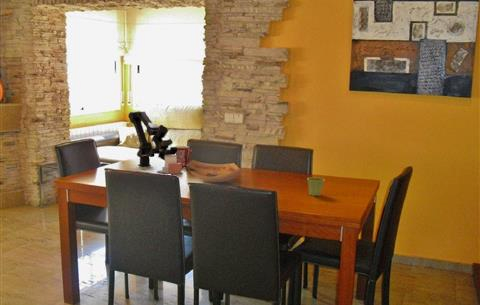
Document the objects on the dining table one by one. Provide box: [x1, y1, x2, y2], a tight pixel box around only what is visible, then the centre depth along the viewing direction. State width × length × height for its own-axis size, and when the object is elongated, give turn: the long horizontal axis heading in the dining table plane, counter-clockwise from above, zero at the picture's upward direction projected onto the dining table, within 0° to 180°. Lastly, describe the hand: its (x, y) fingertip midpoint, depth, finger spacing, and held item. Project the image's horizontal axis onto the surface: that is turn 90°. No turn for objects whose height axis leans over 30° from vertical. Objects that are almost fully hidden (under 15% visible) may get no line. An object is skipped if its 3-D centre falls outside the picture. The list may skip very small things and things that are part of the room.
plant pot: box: [306, 176, 326, 197], centre depth 263 cm, size 9×9×9 cm
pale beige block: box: [164, 154, 177, 168], centre depth 306 cm, size 4×6×10 cm
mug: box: [175, 145, 194, 168], centre depth 330 cm, size 13×9×14 cm
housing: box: [156, 163, 184, 176], centre depth 307 cm, size 14×10×7 cm
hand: (168, 162), depth 307 cm, fingers closed
